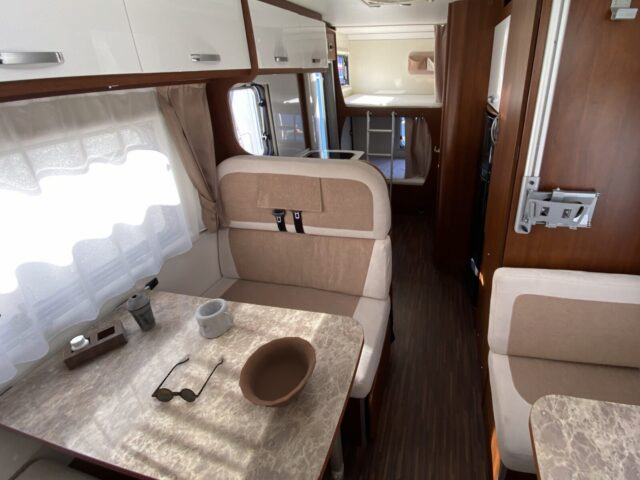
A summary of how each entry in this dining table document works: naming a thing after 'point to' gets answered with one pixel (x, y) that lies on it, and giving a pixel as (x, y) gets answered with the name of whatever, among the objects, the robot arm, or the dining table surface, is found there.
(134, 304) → the beverage cup
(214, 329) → the mug
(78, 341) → the pill bottle
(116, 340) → the holder
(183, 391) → the eyeglasses
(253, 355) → the bowl
